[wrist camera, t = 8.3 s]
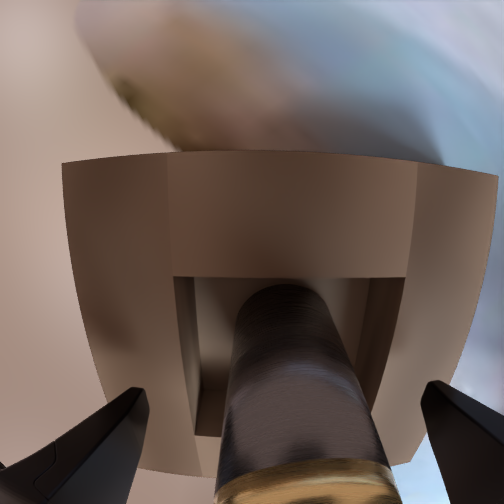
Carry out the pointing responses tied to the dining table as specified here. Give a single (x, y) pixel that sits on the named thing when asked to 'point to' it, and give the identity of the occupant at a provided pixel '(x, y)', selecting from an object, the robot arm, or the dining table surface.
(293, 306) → the battery cell
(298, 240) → the holder block
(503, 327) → the dining table surface
